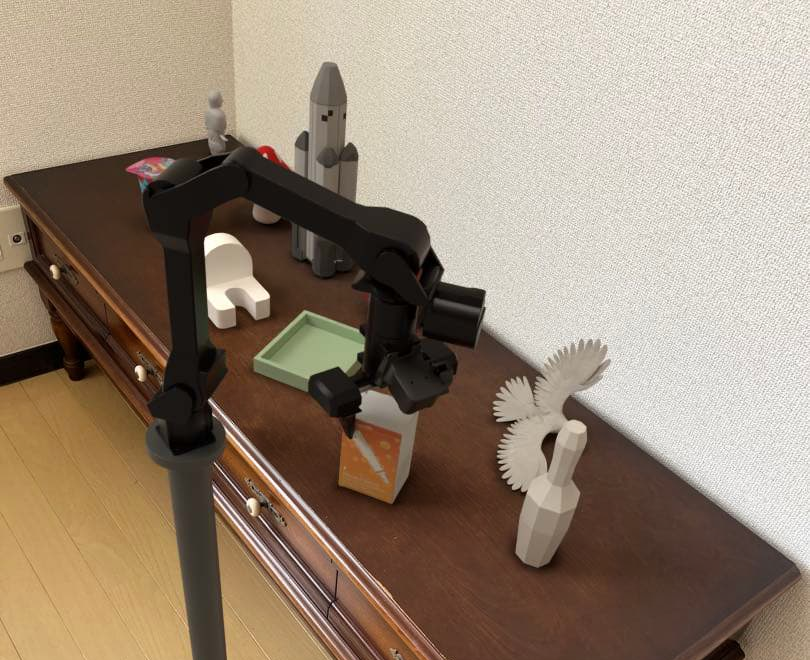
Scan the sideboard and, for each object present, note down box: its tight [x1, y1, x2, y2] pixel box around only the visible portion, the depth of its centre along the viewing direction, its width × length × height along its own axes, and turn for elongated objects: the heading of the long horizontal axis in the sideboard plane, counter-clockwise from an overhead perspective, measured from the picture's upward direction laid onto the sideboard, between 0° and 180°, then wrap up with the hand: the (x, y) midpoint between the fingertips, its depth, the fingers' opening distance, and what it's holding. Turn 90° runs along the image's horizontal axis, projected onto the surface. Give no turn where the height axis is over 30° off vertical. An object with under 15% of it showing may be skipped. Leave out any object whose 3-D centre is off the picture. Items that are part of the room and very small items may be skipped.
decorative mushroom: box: [252, 145, 294, 225], centre depth 156 cm, size 14×14×15 cm
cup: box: [125, 156, 176, 193], centre depth 150 cm, size 9×8×12 cm
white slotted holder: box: [204, 232, 271, 330], centre depth 137 cm, size 10×18×11 cm, turn 34°
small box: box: [338, 389, 420, 505], centre depth 108 cm, size 8×6×13 cm
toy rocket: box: [290, 61, 360, 280], centre depth 140 cm, size 12×9×35 cm
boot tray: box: [253, 309, 365, 393], centre depth 130 cm, size 16×14×3 cm
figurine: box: [201, 89, 229, 155], centre depth 172 cm, size 9×4×15 cm, turn 42°
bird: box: [492, 338, 612, 493], centre depth 120 cm, size 21×16×15 cm
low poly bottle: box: [515, 419, 588, 569], centre depth 99 cm, size 6×6×22 cm
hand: (379, 425), depth 105 cm, fingers open, 9 cm apart
